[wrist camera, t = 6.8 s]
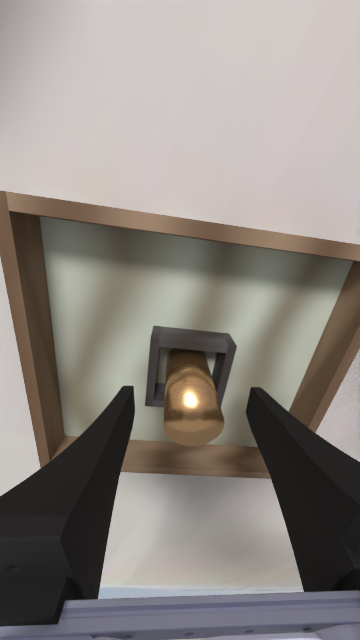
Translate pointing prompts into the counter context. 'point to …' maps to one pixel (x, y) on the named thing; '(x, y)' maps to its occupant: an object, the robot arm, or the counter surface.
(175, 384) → the bronze metal cylinder
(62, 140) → the counter surface
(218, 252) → the walled box
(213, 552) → the counter surface
